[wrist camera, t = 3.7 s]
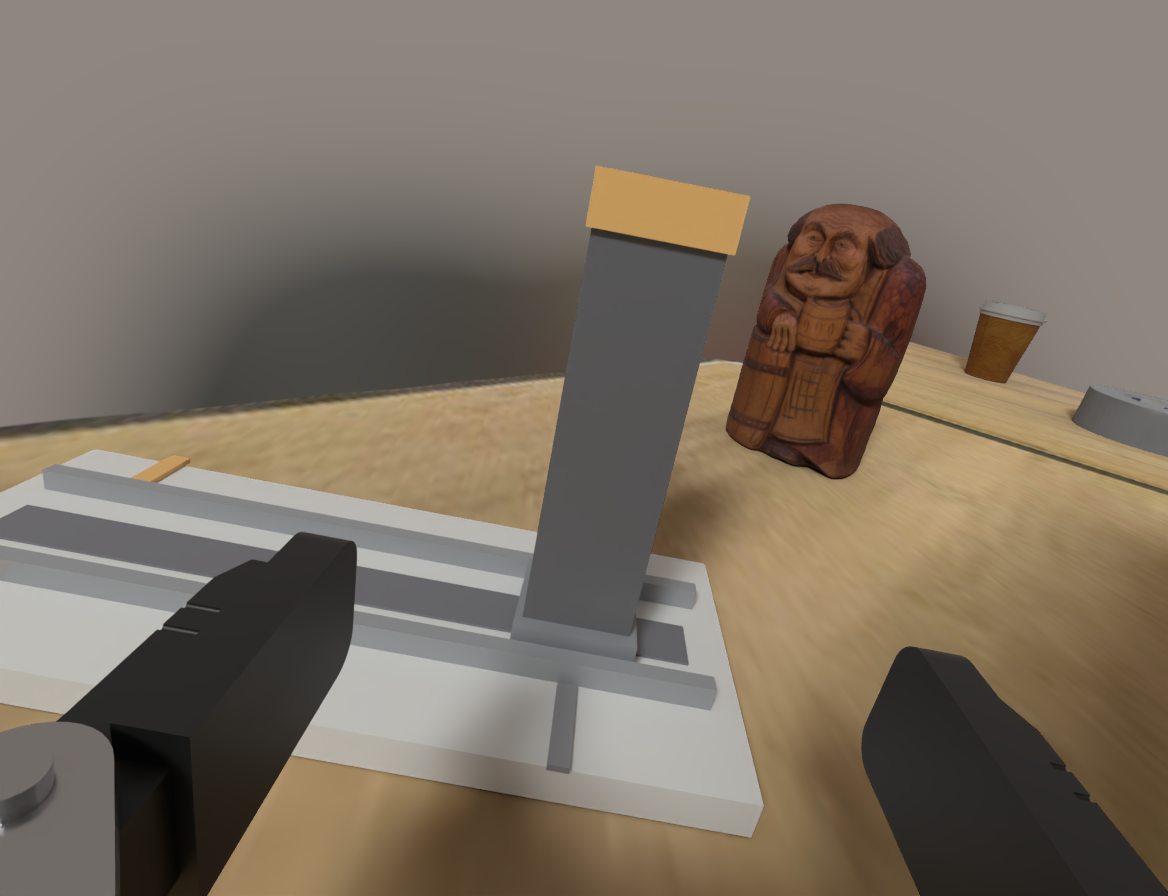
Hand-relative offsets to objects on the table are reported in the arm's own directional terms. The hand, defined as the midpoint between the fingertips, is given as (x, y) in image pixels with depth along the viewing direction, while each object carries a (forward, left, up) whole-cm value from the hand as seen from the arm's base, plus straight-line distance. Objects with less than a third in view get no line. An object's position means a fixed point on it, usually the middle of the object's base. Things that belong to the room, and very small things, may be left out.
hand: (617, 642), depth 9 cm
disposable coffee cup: (-65, -99, -9) cm, 118 cm away
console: (+8, -11, -9) cm, 16 cm away
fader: (0, -11, -7) cm, 13 cm away
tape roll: (-70, -71, -9) cm, 100 cm away
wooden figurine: (-15, -39, -9) cm, 42 cm away
